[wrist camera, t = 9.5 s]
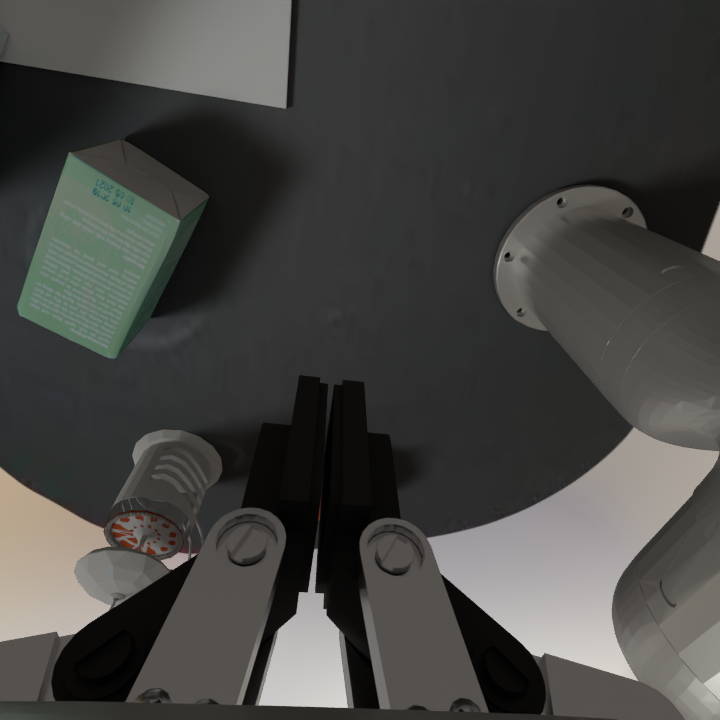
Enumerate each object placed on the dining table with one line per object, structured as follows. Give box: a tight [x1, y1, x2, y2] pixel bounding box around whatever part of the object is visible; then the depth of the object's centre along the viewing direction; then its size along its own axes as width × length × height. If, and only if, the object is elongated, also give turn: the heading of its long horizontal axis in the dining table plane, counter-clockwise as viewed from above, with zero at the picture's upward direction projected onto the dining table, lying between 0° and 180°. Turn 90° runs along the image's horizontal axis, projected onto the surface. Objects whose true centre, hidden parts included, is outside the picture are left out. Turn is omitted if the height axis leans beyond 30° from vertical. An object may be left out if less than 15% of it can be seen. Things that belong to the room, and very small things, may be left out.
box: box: [17, 139, 209, 358], centre depth 33 cm, size 7×14×8 cm, turn 145°
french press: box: [74, 430, 222, 610], centre depth 38 cm, size 10×12×25 cm
